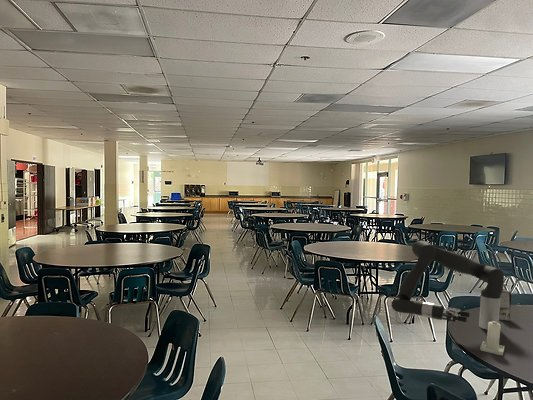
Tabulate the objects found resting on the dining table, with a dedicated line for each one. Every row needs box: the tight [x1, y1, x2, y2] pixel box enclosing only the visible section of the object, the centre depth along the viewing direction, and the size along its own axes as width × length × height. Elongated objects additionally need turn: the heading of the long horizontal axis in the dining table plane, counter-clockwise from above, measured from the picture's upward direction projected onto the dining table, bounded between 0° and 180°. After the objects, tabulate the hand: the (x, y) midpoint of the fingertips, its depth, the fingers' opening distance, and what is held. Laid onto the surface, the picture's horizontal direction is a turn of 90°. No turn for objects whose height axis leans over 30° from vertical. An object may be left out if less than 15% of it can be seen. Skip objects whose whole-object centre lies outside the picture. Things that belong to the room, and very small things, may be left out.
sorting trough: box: [479, 341, 506, 356], centre depth 186 cm, size 9×9×2 cm
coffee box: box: [499, 288, 513, 321], centre depth 234 cm, size 9×6×16 cm
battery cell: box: [486, 321, 502, 351], centre depth 186 cm, size 5×5×13 cm
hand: (468, 317), depth 193 cm, fingers open, 8 cm apart
